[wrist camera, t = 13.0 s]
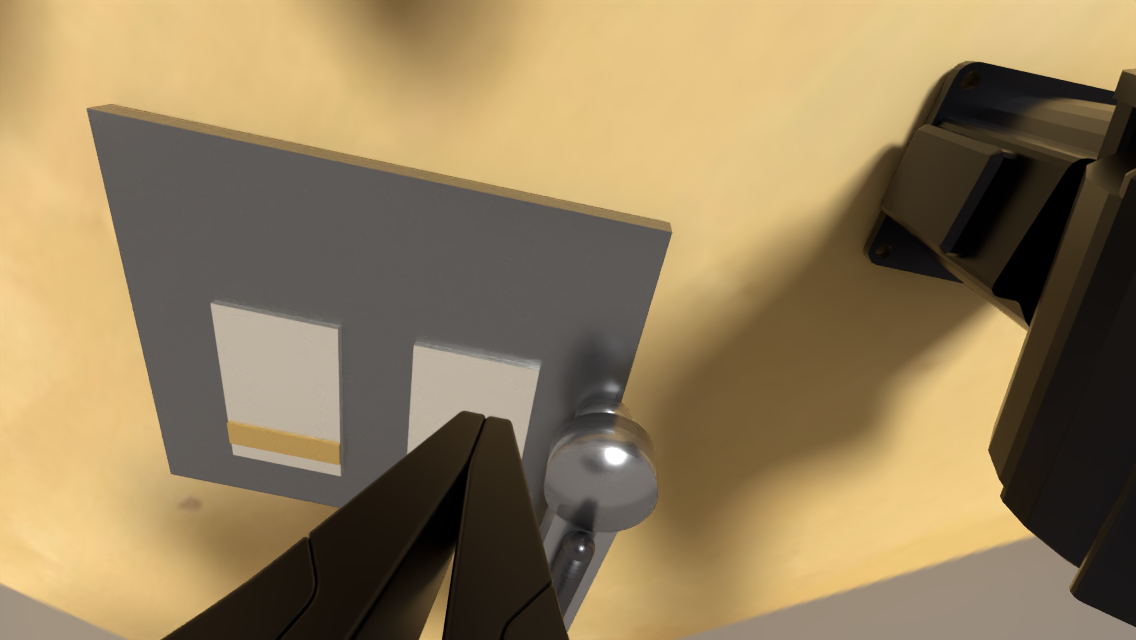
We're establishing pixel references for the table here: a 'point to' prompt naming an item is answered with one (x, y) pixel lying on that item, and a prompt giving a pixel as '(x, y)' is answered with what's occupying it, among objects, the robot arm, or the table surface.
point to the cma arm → (593, 498)
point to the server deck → (359, 304)
